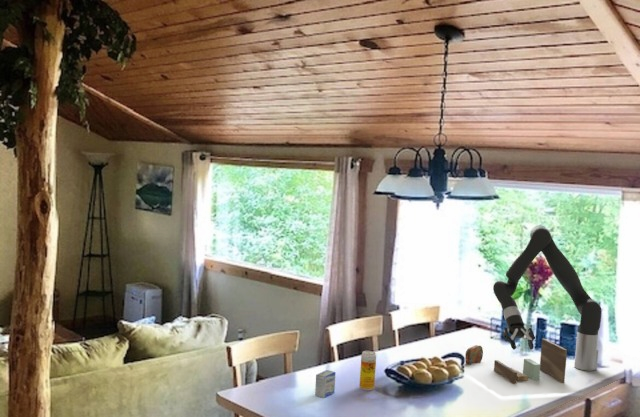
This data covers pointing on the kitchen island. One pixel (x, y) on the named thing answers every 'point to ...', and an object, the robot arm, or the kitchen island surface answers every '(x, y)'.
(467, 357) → the brown rounded slab
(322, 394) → the medicine box
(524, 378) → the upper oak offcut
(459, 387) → the kitchen island surface
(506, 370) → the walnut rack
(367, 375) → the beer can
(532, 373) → the pale green block
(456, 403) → the kitchen island surface
